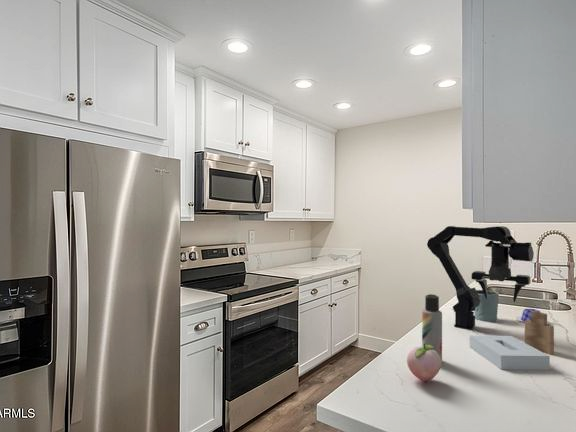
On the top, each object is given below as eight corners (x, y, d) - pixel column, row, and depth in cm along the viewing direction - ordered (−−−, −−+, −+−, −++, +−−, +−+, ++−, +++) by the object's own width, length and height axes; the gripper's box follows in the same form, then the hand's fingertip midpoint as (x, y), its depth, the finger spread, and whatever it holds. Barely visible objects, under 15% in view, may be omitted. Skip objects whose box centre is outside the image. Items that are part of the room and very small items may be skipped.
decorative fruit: (414, 371, 101) (414, 336, 101) (444, 379, 96) (444, 342, 96) (401, 382, 93) (401, 344, 94) (433, 392, 88) (433, 352, 88)
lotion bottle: (441, 358, 110) (441, 294, 111) (442, 365, 105) (442, 297, 105) (421, 355, 112) (421, 292, 113) (422, 362, 107) (422, 296, 107)
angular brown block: (524, 346, 121) (524, 310, 121) (528, 346, 122) (528, 309, 122) (550, 355, 114) (550, 316, 114) (553, 354, 115) (553, 315, 115)
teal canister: (501, 319, 155) (501, 292, 156) (495, 324, 148) (495, 295, 148) (476, 315, 162) (476, 288, 162) (469, 319, 155) (469, 292, 155)
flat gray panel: (469, 347, 120) (469, 335, 120) (510, 347, 120) (510, 335, 120) (500, 369, 102) (500, 355, 102) (549, 369, 102) (549, 355, 102)
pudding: (554, 327, 145) (554, 314, 145) (521, 324, 148) (521, 312, 148) (542, 319, 157) (542, 307, 157) (511, 317, 160) (511, 305, 160)
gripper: (467, 259, 134) (467, 300, 134) (526, 263, 122) (526, 308, 122) (474, 256, 143) (475, 295, 143) (530, 260, 131) (530, 302, 131)
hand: (500, 300), depth 134 cm, fingers open, 9 cm apart
